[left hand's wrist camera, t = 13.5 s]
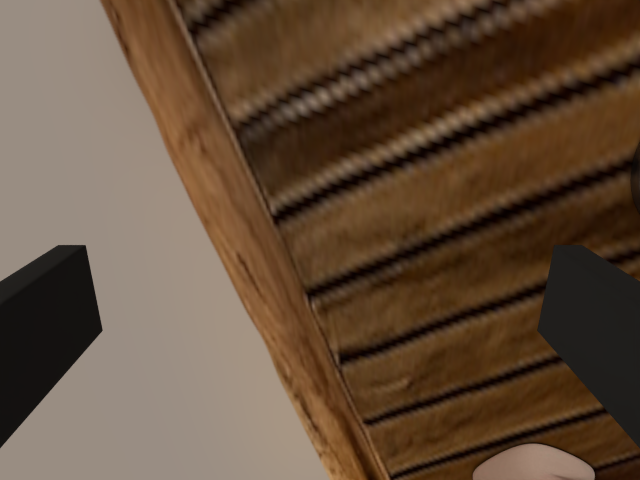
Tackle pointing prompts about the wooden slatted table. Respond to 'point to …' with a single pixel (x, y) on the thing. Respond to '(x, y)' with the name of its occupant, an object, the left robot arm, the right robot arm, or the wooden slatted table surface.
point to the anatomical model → (533, 465)
